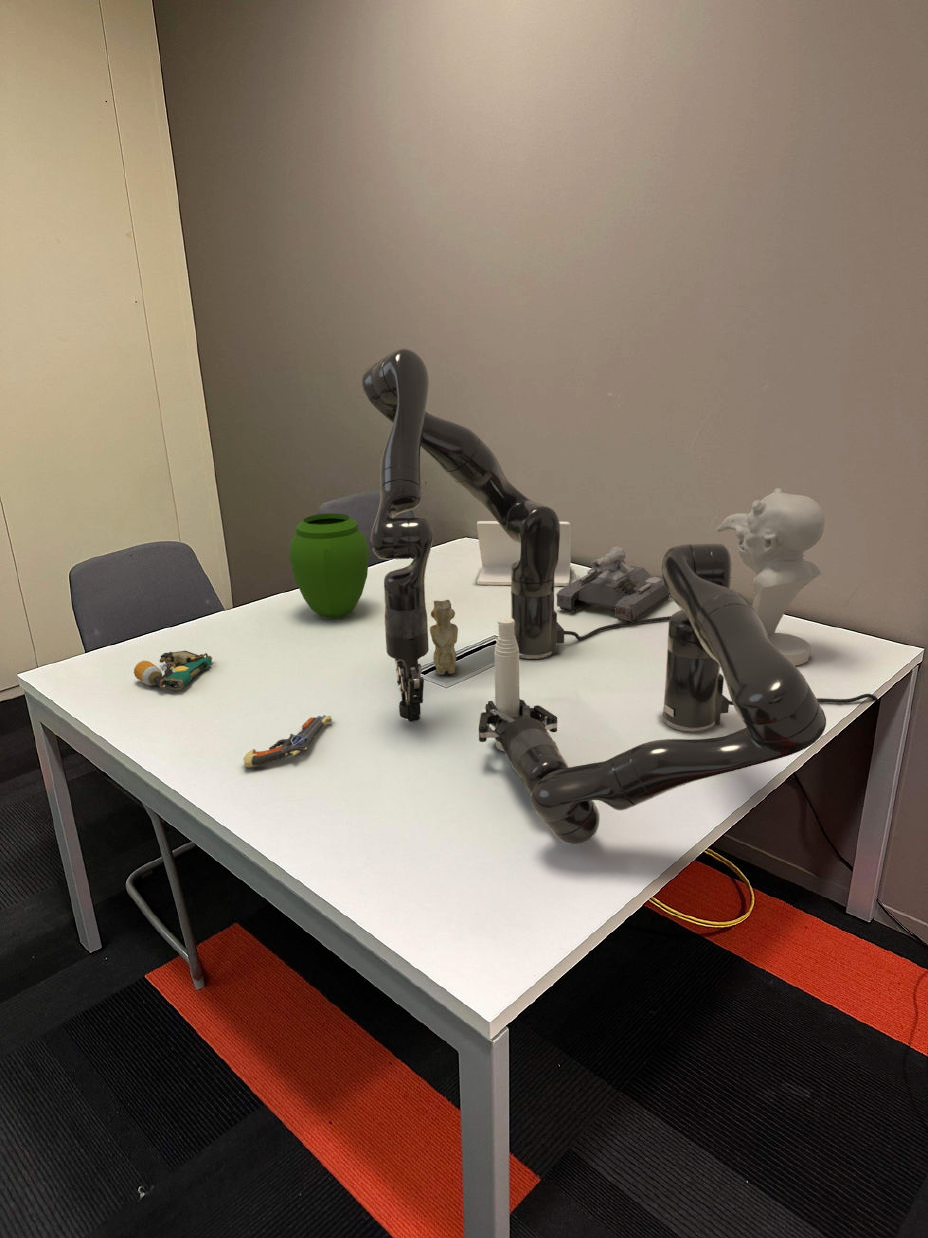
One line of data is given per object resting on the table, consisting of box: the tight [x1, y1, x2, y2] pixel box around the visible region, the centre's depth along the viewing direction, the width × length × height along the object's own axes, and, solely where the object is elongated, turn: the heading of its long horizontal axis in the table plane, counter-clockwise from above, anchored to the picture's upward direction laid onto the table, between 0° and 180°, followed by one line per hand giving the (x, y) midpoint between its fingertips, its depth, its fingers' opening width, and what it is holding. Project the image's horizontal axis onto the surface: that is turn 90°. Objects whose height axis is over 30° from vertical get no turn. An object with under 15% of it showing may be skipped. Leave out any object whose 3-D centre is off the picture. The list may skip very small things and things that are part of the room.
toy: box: [556, 546, 671, 623], centre depth 212 cm, size 25×20×15 cm
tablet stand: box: [476, 520, 572, 587], centre depth 236 cm, size 18×25×17 cm
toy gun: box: [243, 714, 333, 769], centre depth 151 cm, size 3×19×10 cm
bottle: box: [493, 617, 520, 752], centre depth 145 cm, size 4×4×24 cm
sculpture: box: [429, 599, 459, 675], centre depth 177 cm, size 6×7×15 cm
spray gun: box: [133, 650, 213, 690], centre depth 180 cm, size 4×17×15 cm
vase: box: [288, 512, 370, 620], centre depth 209 cm, size 20×20×24 cm
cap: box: [398, 699, 422, 720], centre depth 157 cm, size 4×4×2 cm
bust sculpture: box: [715, 487, 826, 667], centre depth 180 cm, size 16×24×35 cm
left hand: (410, 714), depth 157 cm, fingers closed on cap, 3 cm apart
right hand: (503, 704), depth 149 cm, fingers closed on bottle, 4 cm apart
